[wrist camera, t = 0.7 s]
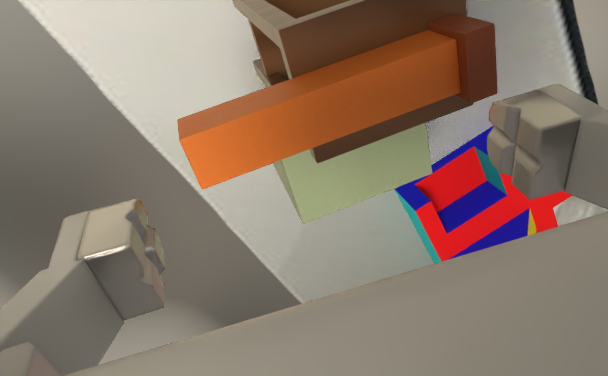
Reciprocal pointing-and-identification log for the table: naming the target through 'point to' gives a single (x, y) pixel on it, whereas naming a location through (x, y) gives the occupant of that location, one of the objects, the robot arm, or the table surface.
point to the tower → (341, 99)
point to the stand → (342, 48)
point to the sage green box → (354, 173)
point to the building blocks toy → (472, 204)
